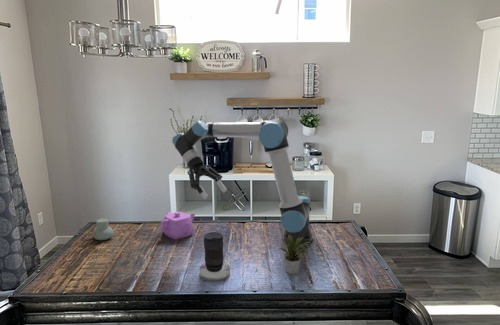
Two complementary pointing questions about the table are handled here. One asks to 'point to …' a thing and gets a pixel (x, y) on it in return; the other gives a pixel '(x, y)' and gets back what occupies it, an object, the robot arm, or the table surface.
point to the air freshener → (102, 230)
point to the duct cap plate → (215, 273)
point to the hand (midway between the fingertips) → (216, 194)
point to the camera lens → (213, 251)
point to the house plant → (293, 255)
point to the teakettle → (177, 225)
